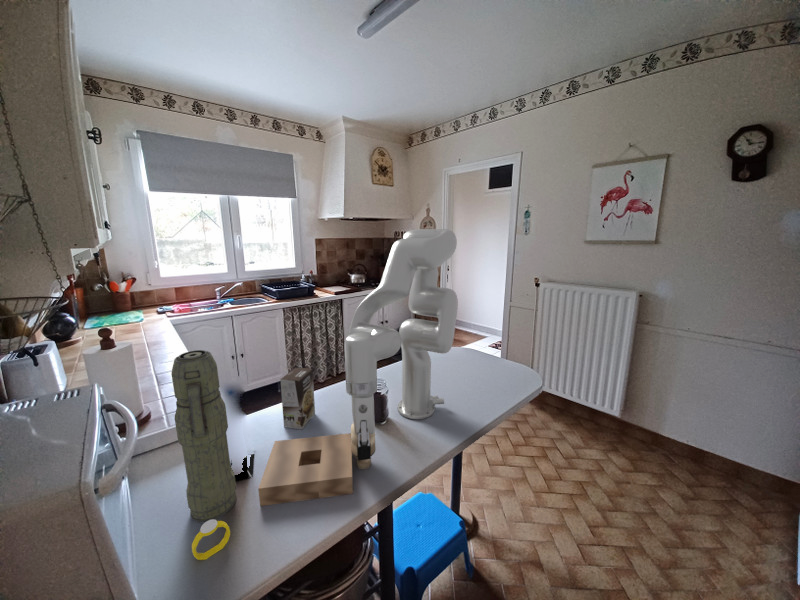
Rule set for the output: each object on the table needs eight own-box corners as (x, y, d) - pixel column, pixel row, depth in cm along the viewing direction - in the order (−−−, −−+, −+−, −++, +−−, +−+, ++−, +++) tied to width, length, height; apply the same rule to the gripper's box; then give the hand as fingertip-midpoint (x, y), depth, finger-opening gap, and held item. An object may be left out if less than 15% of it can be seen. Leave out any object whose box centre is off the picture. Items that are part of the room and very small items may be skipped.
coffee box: (302, 430, 94) (298, 381, 91) (283, 427, 95) (279, 379, 92) (316, 413, 103) (313, 368, 99) (298, 411, 104) (295, 366, 101)
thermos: (191, 537, 60) (163, 370, 53) (189, 496, 70) (165, 350, 63) (241, 514, 65) (222, 359, 58) (233, 479, 75) (215, 342, 68)
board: (351, 447, 86) (351, 433, 85) (352, 493, 71) (352, 476, 70) (276, 455, 83) (274, 441, 82) (260, 506, 67) (258, 488, 66)
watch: (198, 570, 55) (190, 544, 53) (193, 558, 57) (186, 533, 55) (234, 544, 59) (228, 519, 57) (228, 534, 61) (223, 510, 59)
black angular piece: (229, 457, 83) (228, 442, 82) (259, 450, 86) (257, 436, 85) (222, 492, 72) (220, 475, 71) (257, 483, 74) (255, 466, 74)
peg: (374, 454, 83) (374, 417, 81) (376, 471, 77) (376, 432, 75) (351, 457, 82) (350, 420, 80) (352, 474, 76) (350, 434, 74)
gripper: (380, 400, 68) (381, 470, 71) (373, 368, 84) (374, 426, 88) (345, 403, 66) (348, 474, 70) (346, 370, 83) (348, 428, 87)
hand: (363, 447), depth 79 cm, fingers open, 7 cm apart
